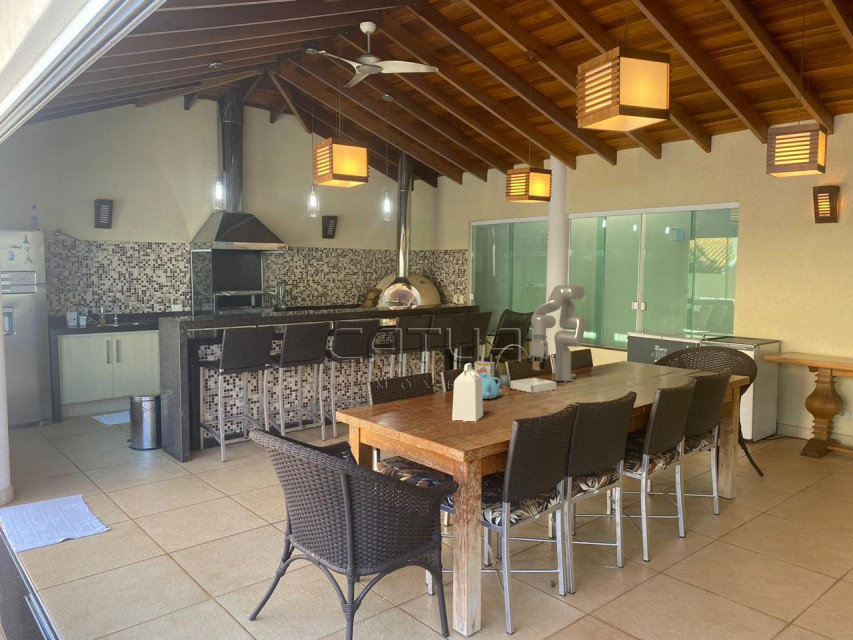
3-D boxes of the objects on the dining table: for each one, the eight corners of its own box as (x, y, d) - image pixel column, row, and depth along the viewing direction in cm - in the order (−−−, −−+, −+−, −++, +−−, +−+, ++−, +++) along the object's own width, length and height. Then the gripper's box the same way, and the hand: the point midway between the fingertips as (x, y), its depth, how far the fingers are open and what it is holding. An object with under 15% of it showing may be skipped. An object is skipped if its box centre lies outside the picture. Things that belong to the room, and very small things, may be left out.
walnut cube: (538, 368, 381) (538, 360, 381) (544, 369, 377) (545, 361, 377) (532, 369, 378) (532, 361, 378) (538, 370, 374) (538, 362, 374)
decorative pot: (486, 402, 341) (486, 377, 340) (462, 398, 352) (462, 373, 351) (503, 398, 354) (504, 373, 352) (480, 394, 364) (480, 370, 363)
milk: (460, 414, 313) (460, 361, 311) (483, 416, 309) (483, 362, 307) (452, 420, 302) (452, 365, 300) (475, 422, 298) (475, 366, 296)
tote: (534, 385, 389) (534, 377, 389) (556, 390, 375) (556, 381, 374) (509, 389, 378) (510, 381, 377) (531, 394, 363) (532, 385, 363)
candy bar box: (473, 389, 377) (473, 361, 376) (477, 388, 382) (477, 360, 380) (490, 391, 372) (491, 363, 370) (494, 390, 376) (494, 362, 374)
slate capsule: (504, 385, 389) (504, 374, 389) (510, 387, 385) (510, 375, 385) (498, 386, 386) (498, 375, 386) (504, 388, 382) (504, 376, 382)
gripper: (554, 338, 372) (554, 369, 373) (533, 335, 385) (533, 366, 387) (545, 338, 367) (544, 370, 368) (524, 336, 381) (523, 367, 382)
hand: (538, 368), depth 378 cm, fingers closed on walnut cube, 4 cm apart
